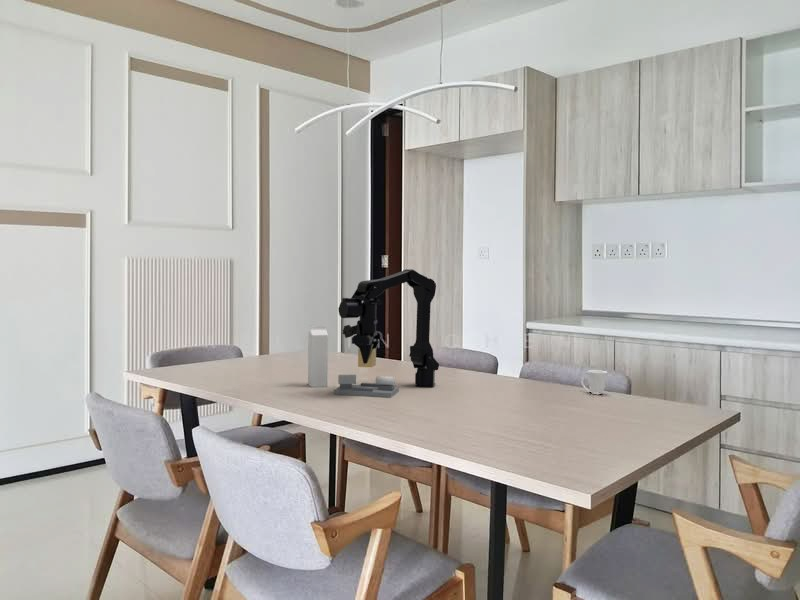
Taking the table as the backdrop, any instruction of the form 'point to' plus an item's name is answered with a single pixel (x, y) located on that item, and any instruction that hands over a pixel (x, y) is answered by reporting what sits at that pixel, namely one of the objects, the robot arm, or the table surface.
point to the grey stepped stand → (366, 387)
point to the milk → (317, 356)
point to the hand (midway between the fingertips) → (367, 362)
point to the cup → (595, 380)
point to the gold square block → (371, 359)
